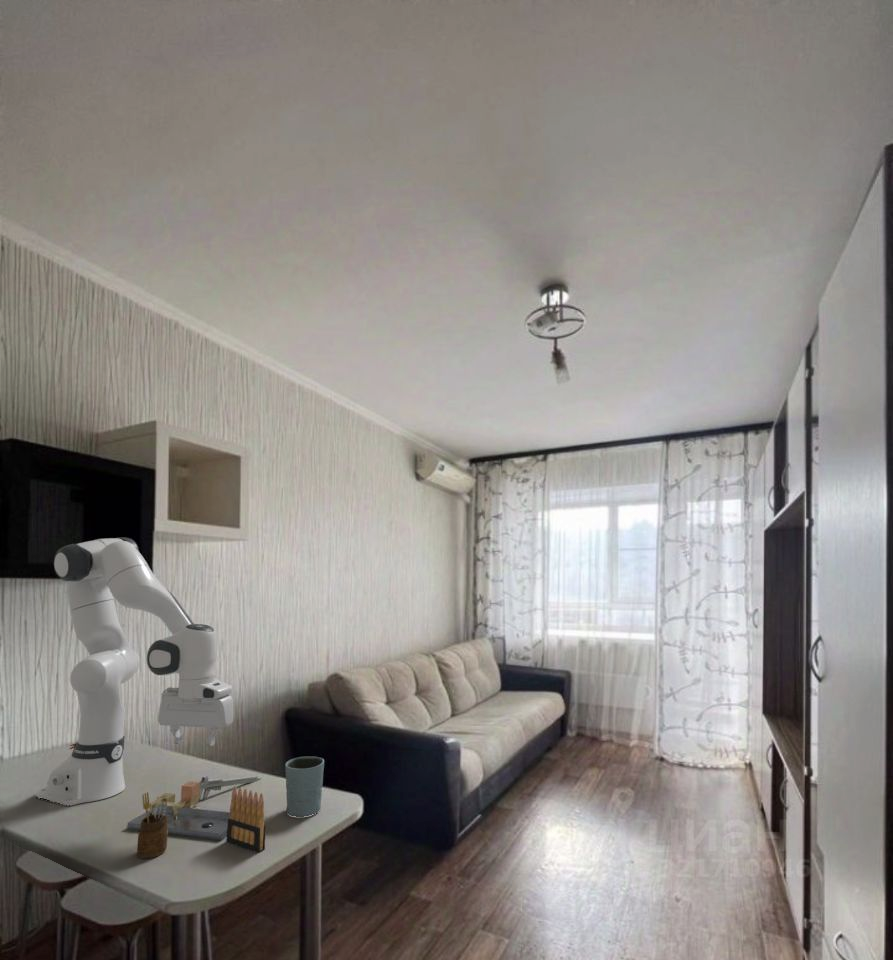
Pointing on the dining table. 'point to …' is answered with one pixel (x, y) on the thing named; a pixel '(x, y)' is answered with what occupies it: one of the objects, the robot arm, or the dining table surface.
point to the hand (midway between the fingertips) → (194, 744)
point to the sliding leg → (187, 797)
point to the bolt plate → (188, 819)
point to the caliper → (221, 784)
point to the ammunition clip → (246, 821)
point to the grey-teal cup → (304, 785)
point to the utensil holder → (152, 833)
